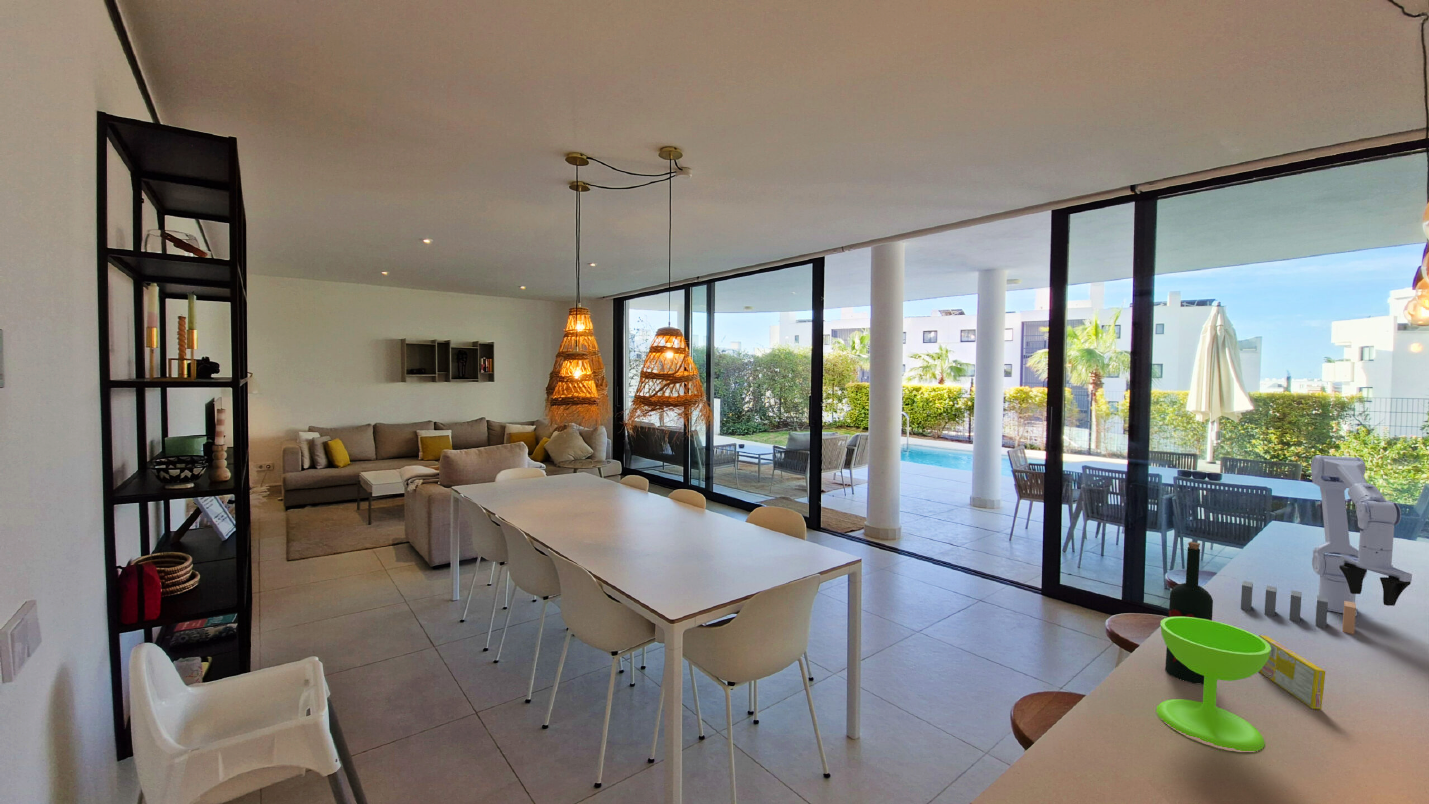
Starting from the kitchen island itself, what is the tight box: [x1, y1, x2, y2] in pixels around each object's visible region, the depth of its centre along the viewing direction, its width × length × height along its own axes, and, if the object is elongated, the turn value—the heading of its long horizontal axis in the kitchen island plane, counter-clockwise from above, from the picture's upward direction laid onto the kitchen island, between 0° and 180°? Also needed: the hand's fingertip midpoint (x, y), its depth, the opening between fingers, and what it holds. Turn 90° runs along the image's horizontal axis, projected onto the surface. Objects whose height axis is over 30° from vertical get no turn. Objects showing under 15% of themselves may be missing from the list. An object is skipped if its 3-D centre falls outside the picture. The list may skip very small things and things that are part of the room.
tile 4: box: [1264, 585, 1278, 617], centre depth 165 cm, size 5×2×7 cm, turn 134°
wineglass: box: [1155, 616, 1271, 752], centre depth 111 cm, size 16×16×18 cm
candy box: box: [1258, 634, 1326, 710], centre depth 125 cm, size 16×2×8 cm, turn 168°
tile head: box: [1342, 601, 1357, 635], centre depth 154 cm, size 5×2×7 cm, turn 133°
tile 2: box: [1315, 594, 1328, 628], centre depth 158 cm, size 5×2×7 cm, turn 134°
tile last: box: [1240, 580, 1254, 612], centre depth 168 cm, size 5×2×7 cm, turn 134°
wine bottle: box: [1164, 541, 1214, 685], centre depth 129 cm, size 8×10×30 cm
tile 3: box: [1289, 589, 1303, 623], centre depth 161 cm, size 5×2×7 cm, turn 134°
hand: (1371, 599), depth 151 cm, fingers open, 7 cm apart
